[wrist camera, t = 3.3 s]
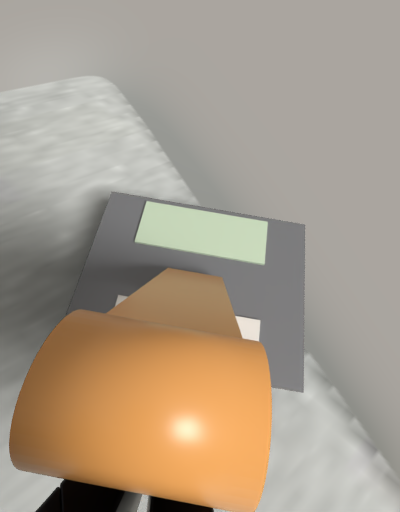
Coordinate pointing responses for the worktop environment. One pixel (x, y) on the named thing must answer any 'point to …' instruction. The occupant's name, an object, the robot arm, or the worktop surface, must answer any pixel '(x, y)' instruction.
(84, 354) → the lever
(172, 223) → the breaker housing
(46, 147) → the worktop surface
